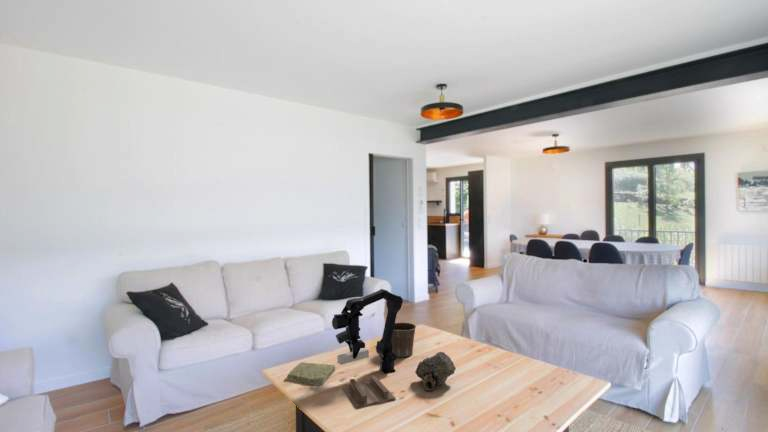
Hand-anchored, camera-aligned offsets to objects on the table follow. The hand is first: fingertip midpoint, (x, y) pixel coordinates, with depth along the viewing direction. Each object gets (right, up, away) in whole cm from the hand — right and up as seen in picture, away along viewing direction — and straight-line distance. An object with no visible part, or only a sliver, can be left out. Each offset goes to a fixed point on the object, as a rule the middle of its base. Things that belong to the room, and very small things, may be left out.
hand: (353, 357), depth 191 cm
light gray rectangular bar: (0, -1, 0) cm, 1 cm away
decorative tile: (-22, -12, +6) cm, 26 cm away
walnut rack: (+8, -12, -14) cm, 20 cm away
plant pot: (+26, -11, +35) cm, 45 cm away
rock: (+38, -12, -6) cm, 40 cm away
